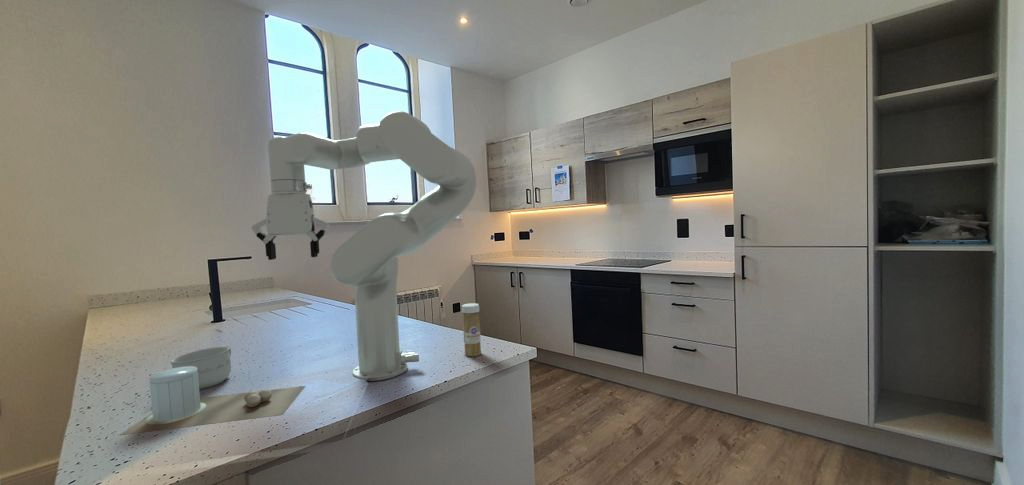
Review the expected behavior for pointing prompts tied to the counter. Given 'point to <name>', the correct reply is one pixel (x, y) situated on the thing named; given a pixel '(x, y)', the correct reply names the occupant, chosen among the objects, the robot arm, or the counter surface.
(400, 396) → the counter surface
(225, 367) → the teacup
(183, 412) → the blue cup
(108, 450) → the counter surface
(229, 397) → the brown board
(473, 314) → the sprinkles bottle
